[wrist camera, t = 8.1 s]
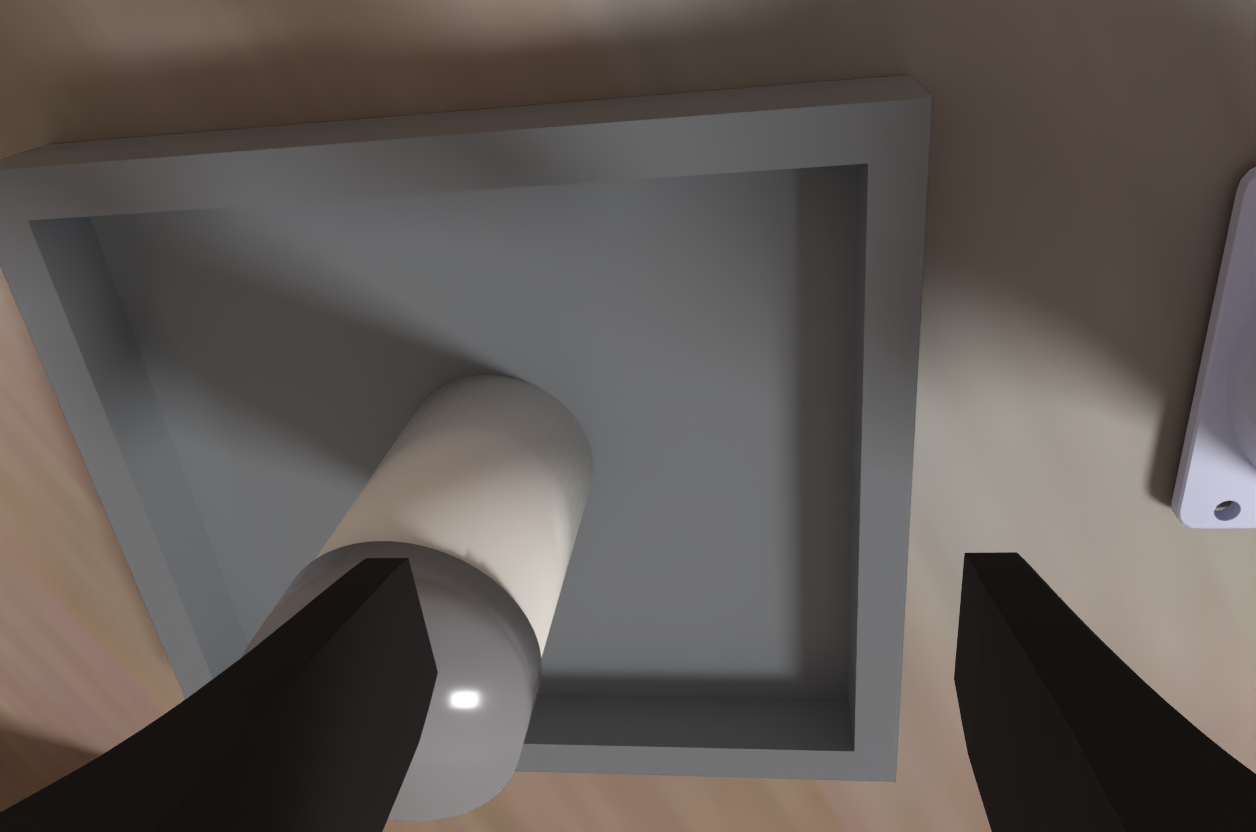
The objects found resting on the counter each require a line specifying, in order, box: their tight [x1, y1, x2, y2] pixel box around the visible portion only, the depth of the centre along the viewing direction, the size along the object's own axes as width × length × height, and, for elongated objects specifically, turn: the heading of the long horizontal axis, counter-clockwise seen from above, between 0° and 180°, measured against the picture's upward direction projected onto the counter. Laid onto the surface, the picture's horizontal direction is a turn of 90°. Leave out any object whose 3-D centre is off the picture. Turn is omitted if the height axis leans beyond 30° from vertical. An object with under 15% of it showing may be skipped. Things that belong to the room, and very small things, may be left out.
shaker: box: [241, 375, 593, 821], centre depth 18 cm, size 5×5×8 cm
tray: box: [0, 74, 932, 782], centre depth 21 cm, size 18×16×2 cm
